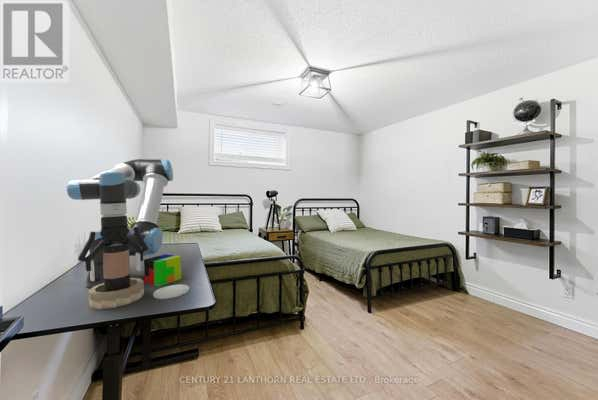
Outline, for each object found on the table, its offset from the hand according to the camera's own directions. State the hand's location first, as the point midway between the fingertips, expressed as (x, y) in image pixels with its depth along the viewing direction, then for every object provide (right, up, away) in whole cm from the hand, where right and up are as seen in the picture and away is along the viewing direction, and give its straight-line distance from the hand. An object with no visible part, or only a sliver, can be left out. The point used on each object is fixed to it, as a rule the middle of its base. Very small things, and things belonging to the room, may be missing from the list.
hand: (116, 275), depth 90 cm
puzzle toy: (+7, -8, +19) cm, 22 cm away
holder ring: (0, -9, 0) cm, 9 cm away
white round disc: (+17, -8, +5) cm, 20 cm away
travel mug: (0, -9, 0) cm, 9 cm away
